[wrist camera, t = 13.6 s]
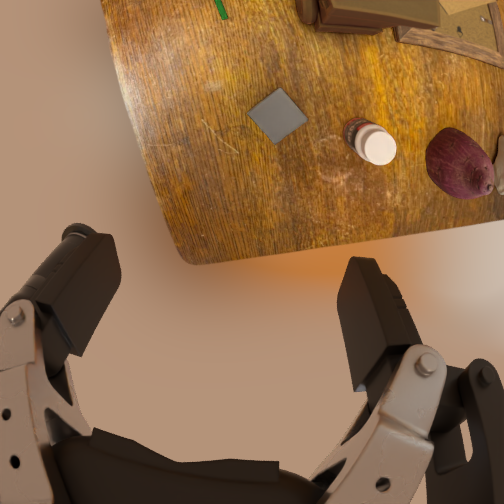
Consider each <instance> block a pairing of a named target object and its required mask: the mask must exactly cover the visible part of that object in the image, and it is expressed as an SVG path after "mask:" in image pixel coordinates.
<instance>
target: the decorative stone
mask: <svg viewBox="0 0 504 504" xmlns="http://www.w3.org/2000/svg"><path fill="white" fill-rule="evenodd" d="M493 170H494V184H495V186H496V188H497V190H498V193H499V194H504V135H501V136H500V137H499V140H498V154H497V157H496V159H495V162H494V164H493Z"/></svg>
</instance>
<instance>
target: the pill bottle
mask: <svg viewBox="0 0 504 504" xmlns="http://www.w3.org/2000/svg"><path fill="white" fill-rule="evenodd" d="M343 136H344V140H345V142H346V143H347V145H348V146H349V147H350V148H351V149H353V150H354V151H355V152H356V153H357V154H358V155H359V156H360V157H362V158H363V159H365V160H366V161H369V162H372V163H373V164H376V165H385V164H387V163H389V162H390V161H391V160H392V159H393V158H394V156H395V154H396V143H395V140H394V139H393V137H392V136H391V135H390V134H388V132H387V131H386V130H385V129H384V128H383V127H381V126H379V125H377V124H375V123H373V122H370V121H368V120H366V119H363V118H354V119H352V120H350V121H349V122H348V123H347V124H346V125H345V127H344V131H343Z"/></svg>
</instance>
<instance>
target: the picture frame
mask: <svg viewBox="0 0 504 504" xmlns="http://www.w3.org/2000/svg"><path fill="white" fill-rule="evenodd" d="M496 1H497V0H439V4H440V24H441V27H437V28H432V29H427V30H425V29H419V28H414V27H408V26H401V25H400V26H395V27H393V29H394V34H395V40H396V42H400V43H407V44H413V45H419V46H425V47H430V48H435V49H439V50H444V51H448V52H452V53H456V54H459V55H463V56H466V57H470V58H473V59H476V60H479V61H482V62H485V63H488V64H491V65H494V66H496V67H499V68H502V69H504V29H503V24H502V20H501V16H500V12H499V8H498V5H497V2H496Z"/></svg>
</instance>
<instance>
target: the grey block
mask: <svg viewBox="0 0 504 504" xmlns="http://www.w3.org/2000/svg"><path fill="white" fill-rule="evenodd" d="M247 115H248V116H249V117H250V118H251V119H252V120H253V121H254V122H255V123H256V124H257V125H258V127H259V128H260V129H261V130H262V131H263V132H264V133H265V134H266V135H267V137H268V138H269V139H270V140H271V141H272V142H273V143H274V145H276V144H277V143H278V142H279V141H281V140H282V139H283V138H285V137H286V136H287V135H289V134H290V133H291V132H293V131H294V130H295V129H297V128H298V127H300V126H301V125H302V124H304V123H305V122H306V121H308V119H307V117H306V116H305V115H304V114H303V112H302V111H301V110H300V109H299V108H298V106H297V105H296V104H295V103H294V102H293V101H292V99H291V98H290V97H289V96H288V95H287V94H286V92H285V91H284V90H283V89H282V88H281V87H278V88H277V89H276V90H274V91H273V92H272V93H270V94H269V95H268V96H266V97H265V98H264V99H263V100H261V101H260V102H259V103H257V104H256V105H255V106H254V107H252V108H251V109H250V110H249V111H248V112H247Z"/></svg>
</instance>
